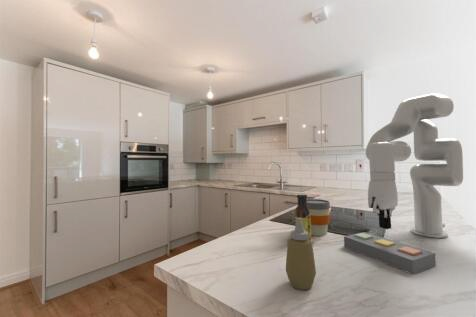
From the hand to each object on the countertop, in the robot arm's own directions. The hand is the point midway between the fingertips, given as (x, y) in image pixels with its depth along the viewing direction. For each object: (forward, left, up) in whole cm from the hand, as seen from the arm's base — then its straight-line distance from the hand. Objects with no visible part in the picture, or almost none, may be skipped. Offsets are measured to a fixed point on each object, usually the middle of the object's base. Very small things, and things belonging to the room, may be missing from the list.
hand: (385, 227), depth 79 cm
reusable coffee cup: (+4, -30, -10) cm, 32 cm away
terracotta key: (+1, +8, -7) cm, 11 cm away
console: (+1, 0, -10) cm, 10 cm away
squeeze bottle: (+40, +2, -10) cm, 41 cm away
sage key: (+1, -8, -7) cm, 11 cm away
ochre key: (+1, 0, -7) cm, 7 cm away
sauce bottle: (+17, -24, -10) cm, 31 cm away
